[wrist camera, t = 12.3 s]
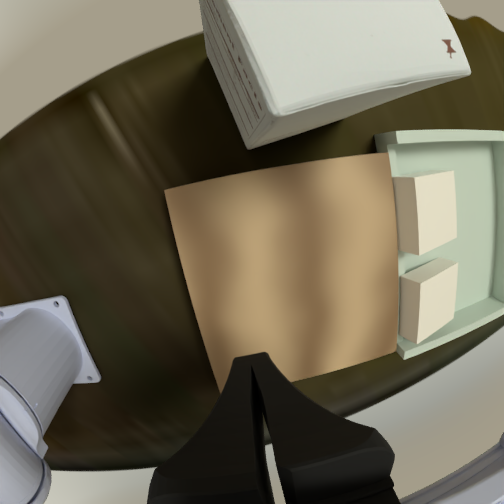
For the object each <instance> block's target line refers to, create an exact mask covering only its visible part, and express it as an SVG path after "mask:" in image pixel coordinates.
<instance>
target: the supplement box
mask: <svg viewBox="0 0 504 504" xmlns="http://www.w3.org/2000/svg"><path fill="white" fill-rule="evenodd" d="M199 3H200V9H201V16H202V24H203V32H204V38H205V45H206V52H207V56H208V58H209V60H210V62H211V65H212V67H213V69H214V72H215V74H216V76H217V79H218V81H219V83H220V86H221V88H222V90H223V93H224V95H225V98H226V100H227V102H228V105H229V107H230V109H231V112H232V114H233V117H234V119H235V122H236V124H237V126H238V129H239V131H240V133H241V136H242V138H243V141H244V143H245V145H246V147H247V149H248V150H251V149H254V148H257V147H260V146H263V145H266V144H269V143H272V142H275V141H278V140H281V139H284V138H287V137H290V136H294V135H297V134H300V133H303V132H306V131H309V130H311V129H314V128H317V127H320V126H323V125H326V124H329V123H332V122H335V121H338V120H341V119H345V118H346V117H349V116H351V115H354V114H356V113H359V112H361V111H364V110H366V109H369V108H372V107H374V106H377V105H380V104H383V103H385V102H388V101H391V100H394V99H396V98H399V97H402V96H405V95H408V94H411V93H414V92H417V91H420V90H423V89H426V88H429V87H432V86H435V85H438V84H442V83H445V82H448V81H452V80H455V79H458V78H462V77H466V76H469V75H470V74H471V70H470V67H469V64H468V61H467V59H466V56H465V53H464V51H463V48H462V46H461V43H460V41H459V39H458V37H457V35H456V32H455V30H454V28H453V26H452V24H451V22H450V20H449V18H448V16H447V15H446V13H445V11H444V9H443V7H442V5H441V4H440V2H439V0H199Z"/></svg>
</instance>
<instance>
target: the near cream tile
mask: <svg viewBox="0 0 504 504" xmlns="http://www.w3.org/2000/svg"><path fill="white" fill-rule="evenodd" d="M392 182H393V191H394V201H395V212H396V226H397V243H398V250H400V251H404V252H407V253H411V254H415V255H418V256H420V255H422V254H424V253H426V252H428V251H430V250H432V249H434V248H437V247H439V246H441V245H443V244H445V243H447V242H449V241H451V240H453V239H455V238H457V212H456V192H455V179H454V170H429V171H423V172H417V173H411V174H405V175H400V176H394V177H392Z"/></svg>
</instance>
